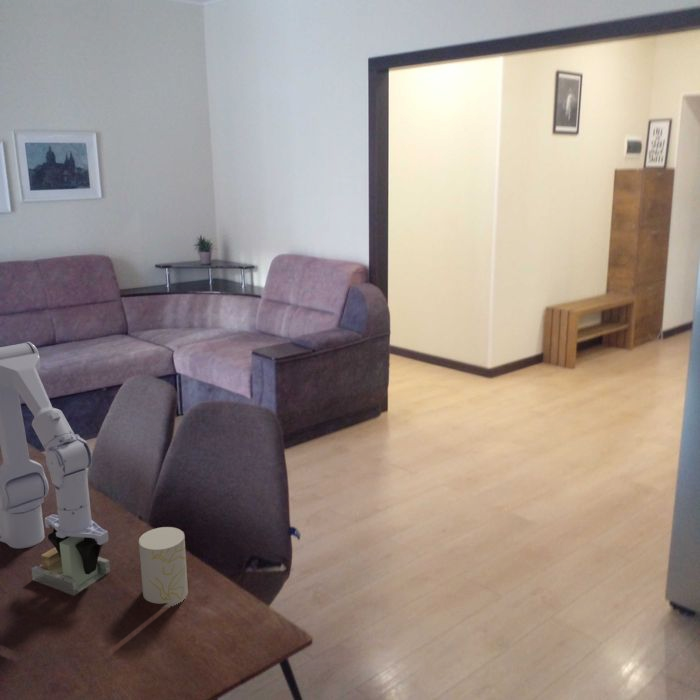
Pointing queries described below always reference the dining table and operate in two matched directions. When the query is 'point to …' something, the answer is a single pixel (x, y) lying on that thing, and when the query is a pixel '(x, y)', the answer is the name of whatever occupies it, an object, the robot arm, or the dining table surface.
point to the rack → (67, 583)
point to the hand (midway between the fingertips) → (80, 567)
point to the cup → (163, 566)
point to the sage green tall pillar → (73, 560)
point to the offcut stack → (51, 561)
